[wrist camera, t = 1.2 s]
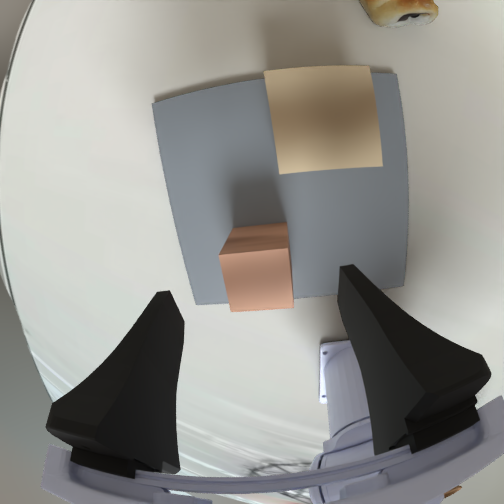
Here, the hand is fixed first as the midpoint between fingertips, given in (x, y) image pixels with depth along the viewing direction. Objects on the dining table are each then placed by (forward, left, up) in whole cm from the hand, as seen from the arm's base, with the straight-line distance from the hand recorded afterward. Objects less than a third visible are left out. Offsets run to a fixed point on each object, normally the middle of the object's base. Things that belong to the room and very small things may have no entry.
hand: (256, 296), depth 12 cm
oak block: (+7, -4, -10) cm, 13 cm away
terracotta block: (-2, +1, -10) cm, 10 cm away
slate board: (+2, -2, -10) cm, 11 cm away
